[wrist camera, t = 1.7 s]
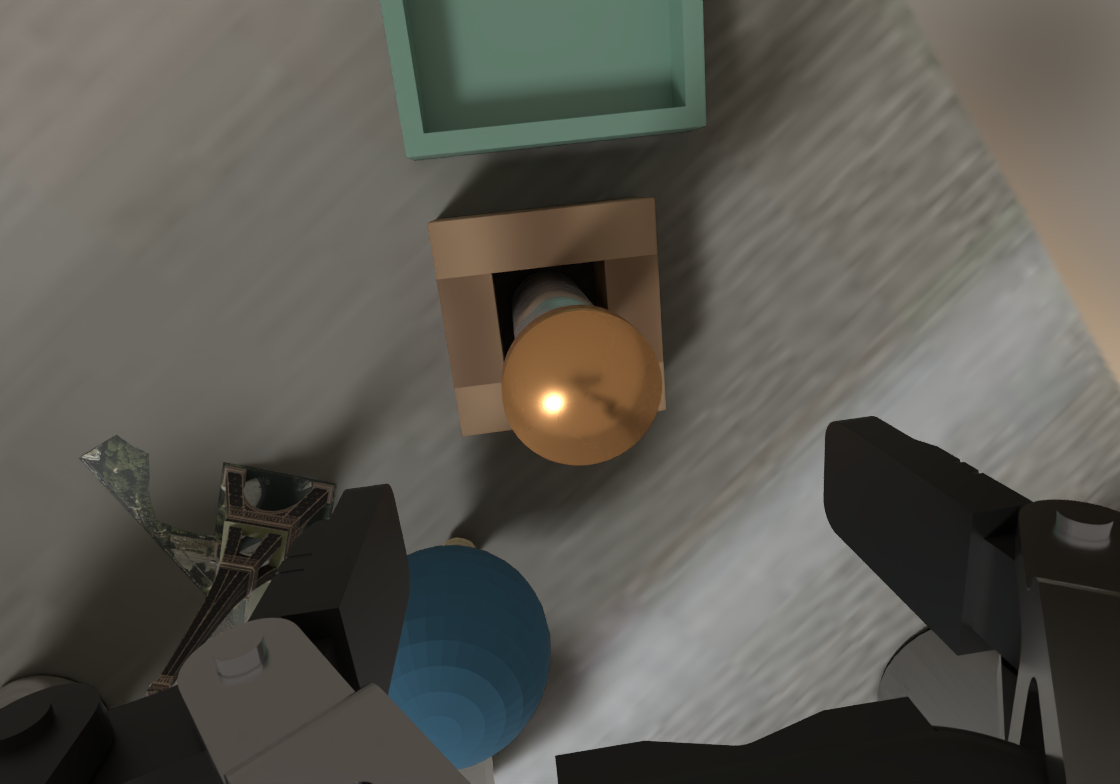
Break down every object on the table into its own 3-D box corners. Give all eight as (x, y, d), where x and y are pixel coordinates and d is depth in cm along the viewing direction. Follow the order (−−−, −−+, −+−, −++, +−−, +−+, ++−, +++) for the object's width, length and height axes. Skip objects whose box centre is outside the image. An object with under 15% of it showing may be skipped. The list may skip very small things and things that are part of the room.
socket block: (636, 196, 28) (654, 197, 25) (648, 386, 31) (665, 410, 28) (436, 219, 28) (427, 222, 24) (466, 409, 31) (462, 436, 27)
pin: (590, 254, 29) (658, 301, 17) (598, 347, 30) (666, 454, 18) (495, 265, 29) (491, 321, 16) (507, 358, 30) (512, 475, 18)
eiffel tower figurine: (79, 451, 30) (-226, 641, 17) (254, 344, 29) (69, 461, 17) (278, 663, 35) (152, 935, 22) (434, 576, 34) (396, 805, 21)
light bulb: (558, 493, 32) (589, 657, 21) (516, 627, 35) (524, 840, 23) (395, 458, 31) (334, 613, 20) (363, 600, 33) (292, 812, 22)
